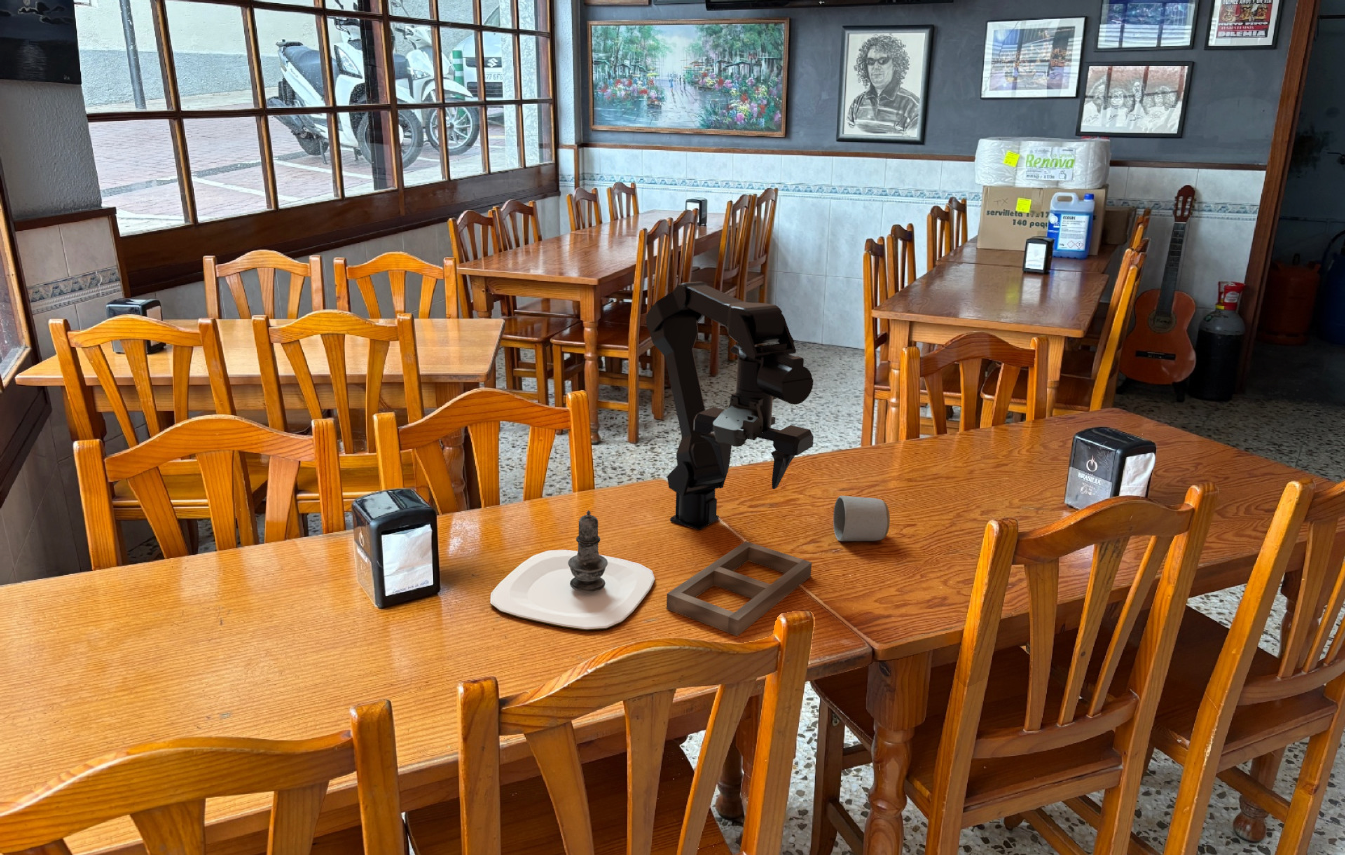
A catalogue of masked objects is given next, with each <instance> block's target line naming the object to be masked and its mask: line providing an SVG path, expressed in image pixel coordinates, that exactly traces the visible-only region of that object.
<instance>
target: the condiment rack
mask: <svg viewBox="0 0 1345 855" xmlns="http://www.w3.org/2000/svg"><path fill="white" fill-rule="evenodd" d="M747 562H750V563H754V564H755V565H756V564H757V565H760V566H762V567H766V568H768V569H772V570H775V571H777V572H780V573H783V574H782V575H780V577H778V578H777V579H776V580H775V581H774V582H772V583H768V582H766V581H762V580H759V579H756V578H753V577H751V576H747V575H744V574H741V573H738V572H735V570H737V569H738V568H740V567H742V566H743V565H745V563H747ZM812 564H813V562H811V561H810V560H805V559H803V558H800V557H797V556H793V555H791V554H787V553H784V552H781V551H778V550H774V549H772V548H768V547H765V546H764V545H760V544H757V543H753V542H750V541H743V542H742V543H741V544H739V545H737V546H736V547H735V548H733V549H732V550H730V551H728V552H727V553H726V554H724V555H723V556H721V557H720V558H718V559H716V560H715V561H714V562H712V563H711V564H709V565H708V566H706V567H705V568H703V569H702V570H700V571H698V572H697V573H695V574H694V575H693V576H691V577H690V578H688V579H686V580H685V581H683V582H682V583H681V584H679V585H677V586H676V587H674V588H673V589H671V590H670V591H669V592H667V593H666V608H665V609H666V610H668V611H671V612H674V613H676V614H678V615H681V616H684V617H686V618H689V619H692V620H694V621H696V620H697V622H700V623H702V624H704V623H705V625H707V626H709V625H710V626H709V627H712V626H713V627H712V628H714V627H715V628H714V629H717V628H718V629H717V630H721V631H723V632H725V633H728V634H730V635H733V636H735V637H738V636H739V635H741V634H742V633H744V632H745V630H747V629H748V628H749V627H751V626H752V625H753V624H755V622H756V621H758V620H759V619H761V617H763V616H764V615H765V614H767V612H768V613H769V611H770V610H771V609H773V608H774V607H775V606H777V604H778V603H780V602H781V601H782V600H784V599H785V598H786V597H788V596H789V595H790V594H791V593H792V592H794V591H795V590H796V589H798V588H799V587H800V586H801V585H803V583H805V582H806V581H807V580H808V579H810V578H811V575H812ZM713 586H714V587H718V588H720V589H724V590H726V591H730V592H732V593H735V594H738V595H740V596H742V597H746V598H749V599H750V600H749V601H746V603H745V604H744V605H742V606H740V607H739V608H738V609H737V610H736V611H731V610H729V609H727V608H723V607H721V606H718V605H717V604H716V605H715V604H713V603H710V602H707V601H705V600H702V599H700V598H698V597H699V596H700V595H702V594H703V593H705V592H706V591H707V590H709V589H710V588H711V587H713Z"/></svg>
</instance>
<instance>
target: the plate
mask: <svg viewBox="0 0 1345 855" xmlns="http://www.w3.org/2000/svg"><path fill="white" fill-rule="evenodd" d="M577 553H578V550H569V549H552V550H551V549H550V550H545V551H542V552H540V553H537V554H534V555H532V556H530V557H529V558H528V559H526V560H524V561H523V562H522V563H520V564H519V565H518V566H517V567H515V569H513V570H512V571H511V572H510V573H509V574H508V575H506V577H504V579H502V580H501V581H500V582H499V583H498V584H497V585H496V587H495V588H494V589H493V590H492V591H491V593H490V605H491V606H492V607H494V608H495V609H496V610H498V611H499V612H501V613H503V614H507V615H510V616H512V617H516V618H519V619H523V620H526V621H533V622H536V623H541V624H545V625H550V626H554V627H555V626H556V627H560V628H564V629H565V628H566V629H574V630H578V631H579V630H581V631H596V630H607V629H609V628H611V627H614V626H617V625H619V624H621V623H624V621H625V620H626V619H627V618H629V616H630V615H631V614H632V613H634V611H635V610H636V609H637V608H638V606H640V604H641V603H642V601H643V600H644V599H645V598H646V596H647V595H648V593H649V592H650V591H651V589H652V587H653V585H654V583H655V581H656V580H655V575H654V572H653V570H652V569H650V568H648V567H646V566H644V565H643V564H641V563H638V562H634V561H630V560H627V559H622V558H620V557H619V558H618V557H613V556H608V555H603V554H600V555H601V556H603V557H604V558H605V559H607V561H608V564H607V566H606V568H605V571H604V574H603V575H602V576H601V578H602V579H604V581H605V586H604V588H602V589H601V590H599V591H595V592H579V591H576V590H574V589H573V588H572V587H571V586H570V581H571V580H572V579H573V578H575V577H574V576H573V574H572V572H571V570H570V567H569V565H568V561H569V560H570V558H572V557H573V556H576V555H577Z"/></svg>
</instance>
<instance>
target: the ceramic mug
mask: <svg viewBox="0 0 1345 855" xmlns="http://www.w3.org/2000/svg"><path fill="white" fill-rule="evenodd" d="M832 514H833V517H832V518H833V520H832V521H833V522H832V524H833V533H834V535H835V538H836V540H837V541H839V542H877V541H880V540H884V539H885V538H886V537H887V535H888V534H889V530H890V525H891V524H890V523H891V519H890V518H891V514H890V510H889V506H888V503H887V502H886V501H885V500H882V499H879V498H875V497H862V496H850V495H849V496H847V495H839V496H838V497H837V499H836V500H835V502H834V508H833V513H832Z"/></svg>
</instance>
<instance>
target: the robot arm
mask: <svg viewBox="0 0 1345 855" xmlns="http://www.w3.org/2000/svg"><path fill="white" fill-rule="evenodd" d="M703 317H706V318H708V319H709V320H712V321H714V322H716V323H717V324H720V325H722V326H724V327H725V328H726V330H727V335H728V336H729V337H730V338H732V340H734V341H735V342H736V343H735V344H733V346H732V347H730V353H731V354H734V355H737V367H736V384H735V392H734V393H732V394H731V396H730V398H729V399H730V400H729V405H728V407H727V408H725V409H724V408H719V407H715V406H711V407H710V408H707V409H706V407H705V402H704V398H703V392H702V387H701V384H700V379H699V374H698V369H697V364H696V360H695V356H694V346H695V344H696V341H697V337H698V335H699V329H698V324H699V322H700V321H701V320H702V319H703ZM645 325H646V328H647V330H648V332H649V336H650V339H651V342H652V344H653V345H654V346H655V347H656V348H657V350H658V351H659V352H660V353H661V354H662V355H663V356H664V360H665V363H666V368H667V372H668V378H669V382H670V388H671V392H672V396H673V401H674V406H675V410H676V416H677V420H678V425H679V431H680V436H681V439H680V442H679V445H678V448H677V450H676V454H675V457H676V458H675V459H676V464H677V465H676V466H675V467H674V468H673V469H672V471H670V472H669V474H667V477H666V478H667V484H668V488H669V489H670V490H672V491H673V492H675V513H674V514H675V515H673V516H671V517H670V518H669V521H670V522H673V523H675V524H679V525H682V526H685V527H688V528H691V529H694V530H697V531H701V530H703V529H705V528H707V527H708V526H710V525H711V524H713V523H714V522H716V521H718V520H719V519H720V516H719V515H717V509H718V508H717V507H718V499H717V498H716V489H723V488H724V485H725V483H726V482H725V481H726V479H727V476H728V474H729V469H730V464H731V454H732V448H733V447H736V448H739V447H741V446H743V445H744V444H745V443H746V441H747V440H751V441H755V440H756V439H762V440H767V441H770V442H772V447H773V448H774V451H773V450H772V452H771V451H770V454H771V456H772V458H773V466H772V474H771V475H772V477H771V490H776V489H777V488H778V487H779V485H780V483H781V481H782V479H783V478H784V475H785V473H786V471H787V470H788V468H789V466H790V464H791V462H792V460H793V459H794V458H795V457H796V456H799V455H800V454H802V453H804V452H806V451H808V450H809V449H811V448H813V447H814V438H815V437H814V434H813V432H812V431H811V429H810V428H805V427H801V426H796V425H791V424H790V425H788V426H786V427H784V428H782V429H777V428H774V427H773V428H772V425H775V424H776V416H773V415H772V413H773V401H774V400H776V399H779V401H780V400H781V401H783V402H785V403H787V404H790V405H795V406H796V405H799V404H802V403H803V402H804V401H806V400H807V399H808V397H809V396H810V394H811V392H812V390H813V386H814V379H813V375H812V372H811V371H810V370H809V369H808V367H806V366H804V365H805V364H804V362H805V361H804V360H805V358H804V357H801V356H798V355H794V354H796V352H797V350H796V346H795V344H794V343H795V340H794V338H793V337H792V335H791V334H792V333H791V332H790V330H789V326H788V323H787V321H786V318H785V316H784V314H783V310H782V309H781V308H780V307H779V306H778V305H776V304H773V303H772V304H771V303H765V302H764V303H763V302H750V301H749V302H747V301H743V300H742V299H739V298H736V297H734V296H732V295H730V294H727V293H725V292H723V291H720V290H718V289H716V288H715V287H712V286H709V284H708V283H706V282H704V281H690V282H682V283H680V284H677V285H676V286H675V287H674V289H673V291H671V292H670V293H668V294H666V295H665V296H663V297H661V298H660V299H658V300H656V301H655V303H654V304H653V305H652V306H651V307H650V309H649V310H648V312H647V313H646V317H645ZM770 343H771V344H770ZM763 344H764V345H763Z"/></svg>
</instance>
